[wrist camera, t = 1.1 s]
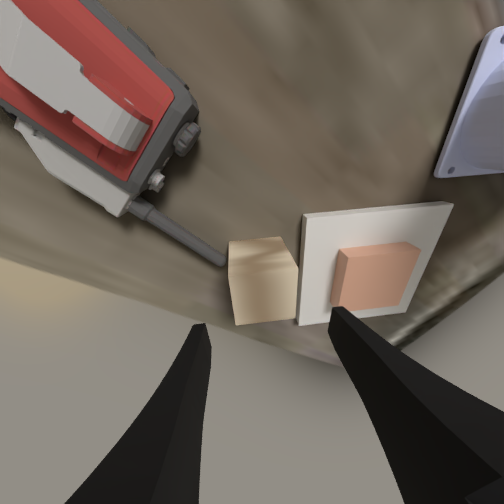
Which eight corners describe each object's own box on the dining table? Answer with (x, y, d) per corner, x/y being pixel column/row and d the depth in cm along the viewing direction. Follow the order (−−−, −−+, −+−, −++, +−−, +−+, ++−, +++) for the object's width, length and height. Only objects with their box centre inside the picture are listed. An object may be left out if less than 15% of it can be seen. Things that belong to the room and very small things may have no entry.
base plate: (442, 200, 16) (475, 209, 14) (398, 305, 22) (417, 323, 20) (302, 214, 15) (314, 225, 13) (296, 318, 21) (303, 338, 19)
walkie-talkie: (-98, 60, 10) (218, 263, 17) (-312, 3, 6) (214, 296, 13) (-76, -175, 7) (287, 187, 15) (-445, -561, 3) (307, 201, 11)
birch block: (280, 236, 16) (298, 268, 12) (280, 277, 18) (295, 318, 14) (229, 241, 16) (228, 276, 12) (234, 282, 18) (235, 325, 14)
